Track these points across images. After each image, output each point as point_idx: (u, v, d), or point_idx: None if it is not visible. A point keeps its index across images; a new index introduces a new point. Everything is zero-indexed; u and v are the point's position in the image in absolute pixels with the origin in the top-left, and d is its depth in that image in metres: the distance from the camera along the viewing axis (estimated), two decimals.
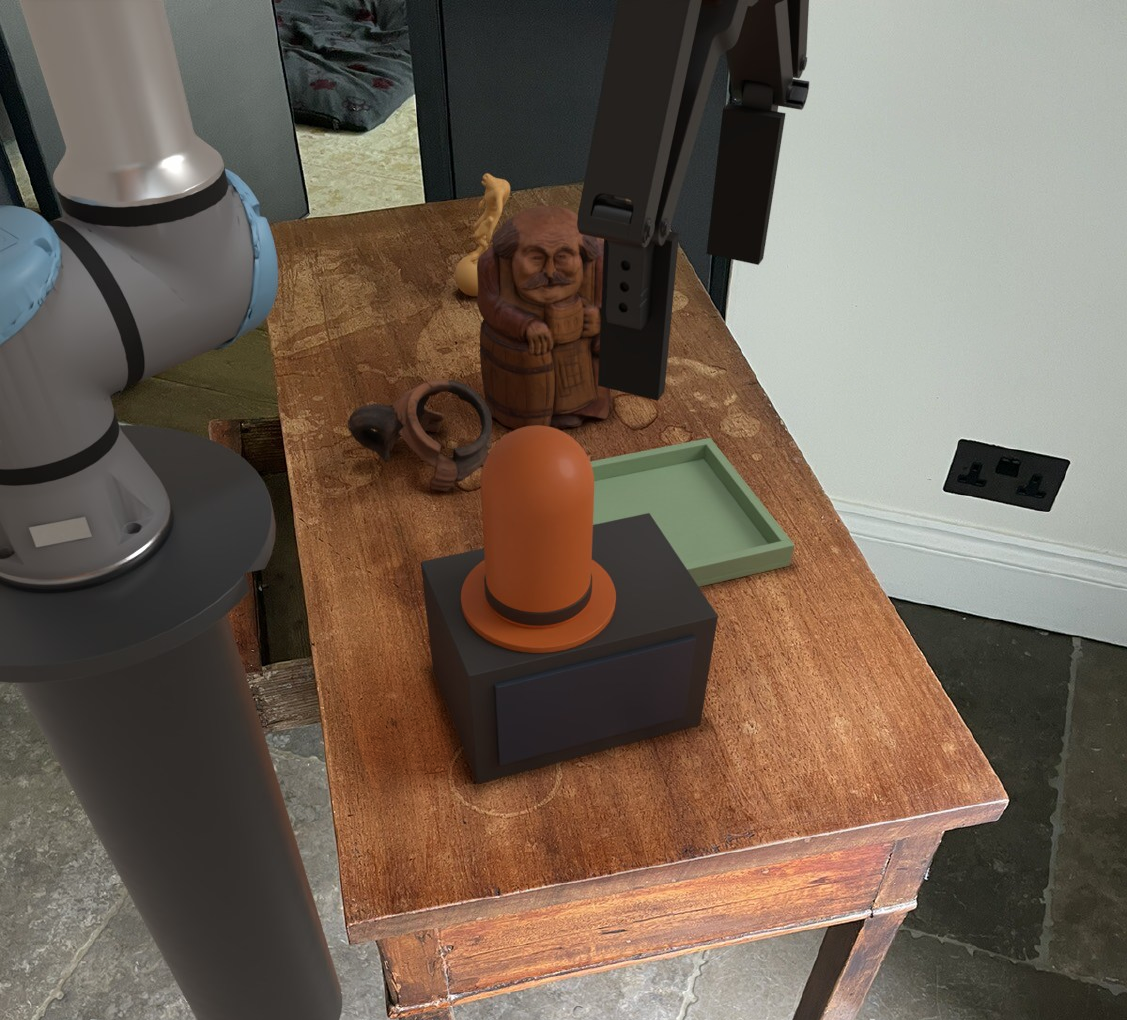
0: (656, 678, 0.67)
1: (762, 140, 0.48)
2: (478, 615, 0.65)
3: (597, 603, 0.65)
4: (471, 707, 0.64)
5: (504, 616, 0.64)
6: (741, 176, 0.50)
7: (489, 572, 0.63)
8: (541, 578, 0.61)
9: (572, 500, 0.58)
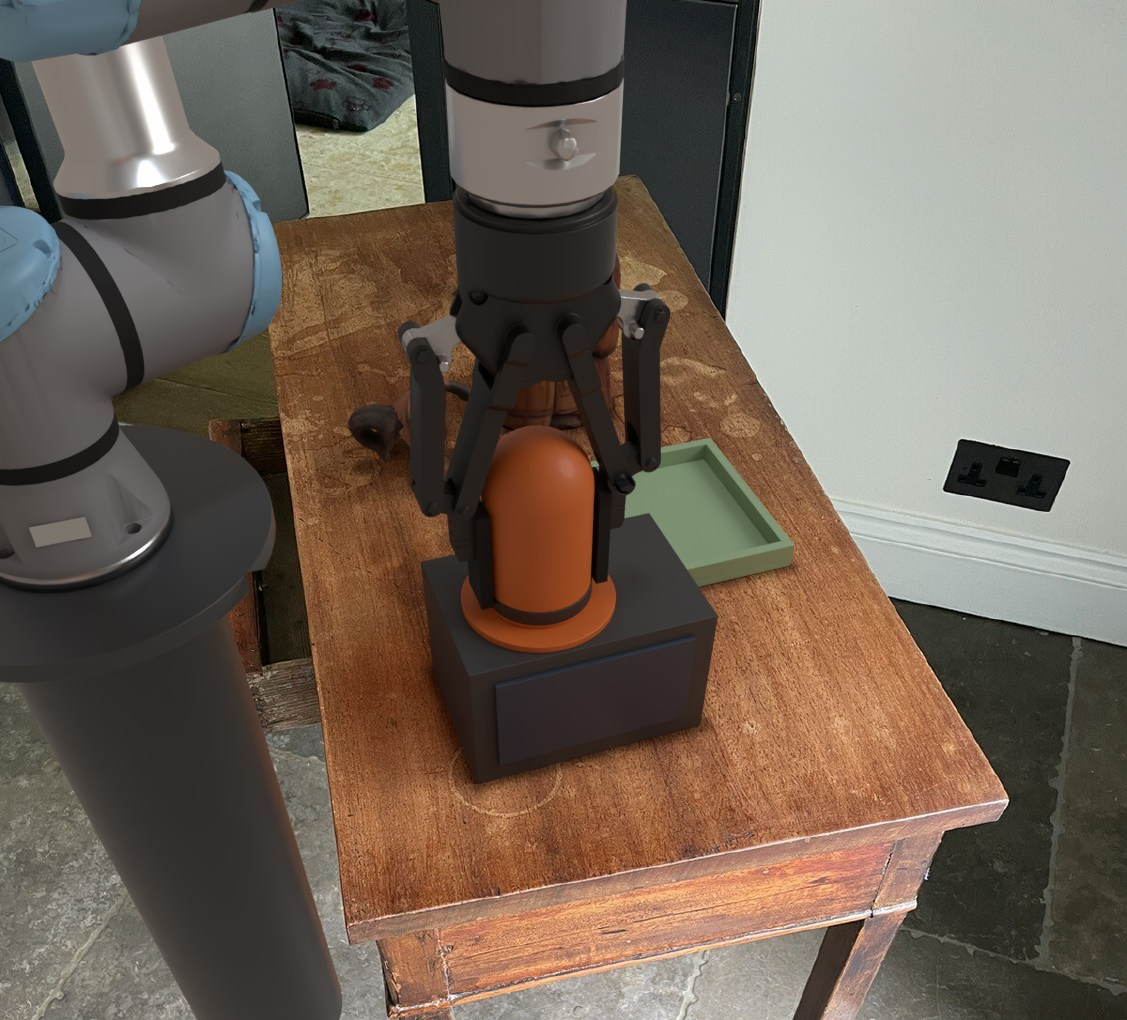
0: (656, 678, 0.67)
1: (595, 503, 0.61)
2: (478, 615, 0.65)
3: (597, 603, 0.65)
4: (471, 707, 0.64)
5: (504, 616, 0.64)
6: None
7: None
8: (541, 578, 0.61)
9: (572, 500, 0.58)
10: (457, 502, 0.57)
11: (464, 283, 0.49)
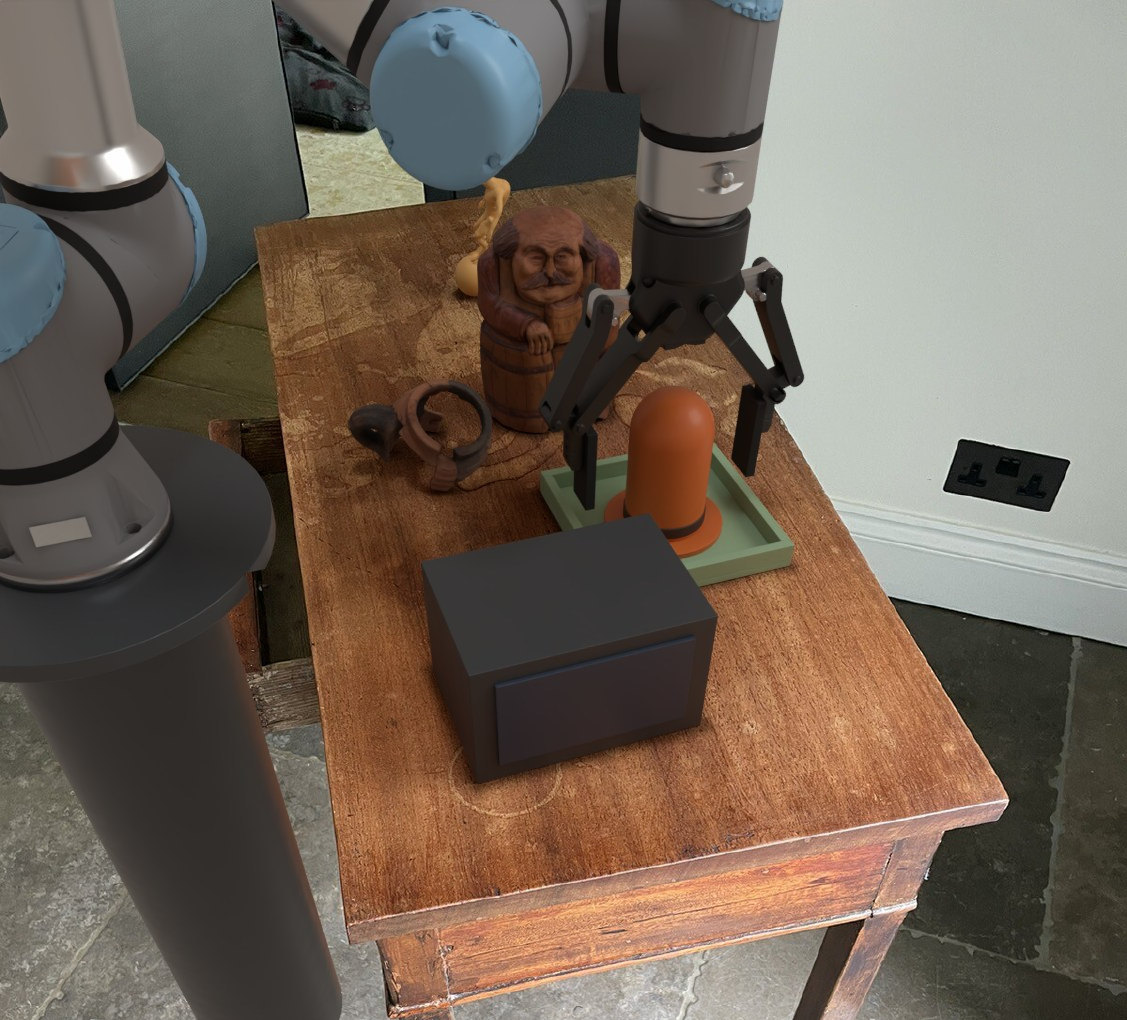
0: (656, 678, 0.67)
1: (752, 411, 0.81)
2: None
3: (709, 524, 0.86)
4: (471, 707, 0.64)
5: None
6: (744, 425, 0.83)
7: (631, 498, 0.83)
8: (673, 501, 0.81)
9: (701, 440, 0.78)
10: (578, 419, 0.76)
11: (639, 272, 0.70)
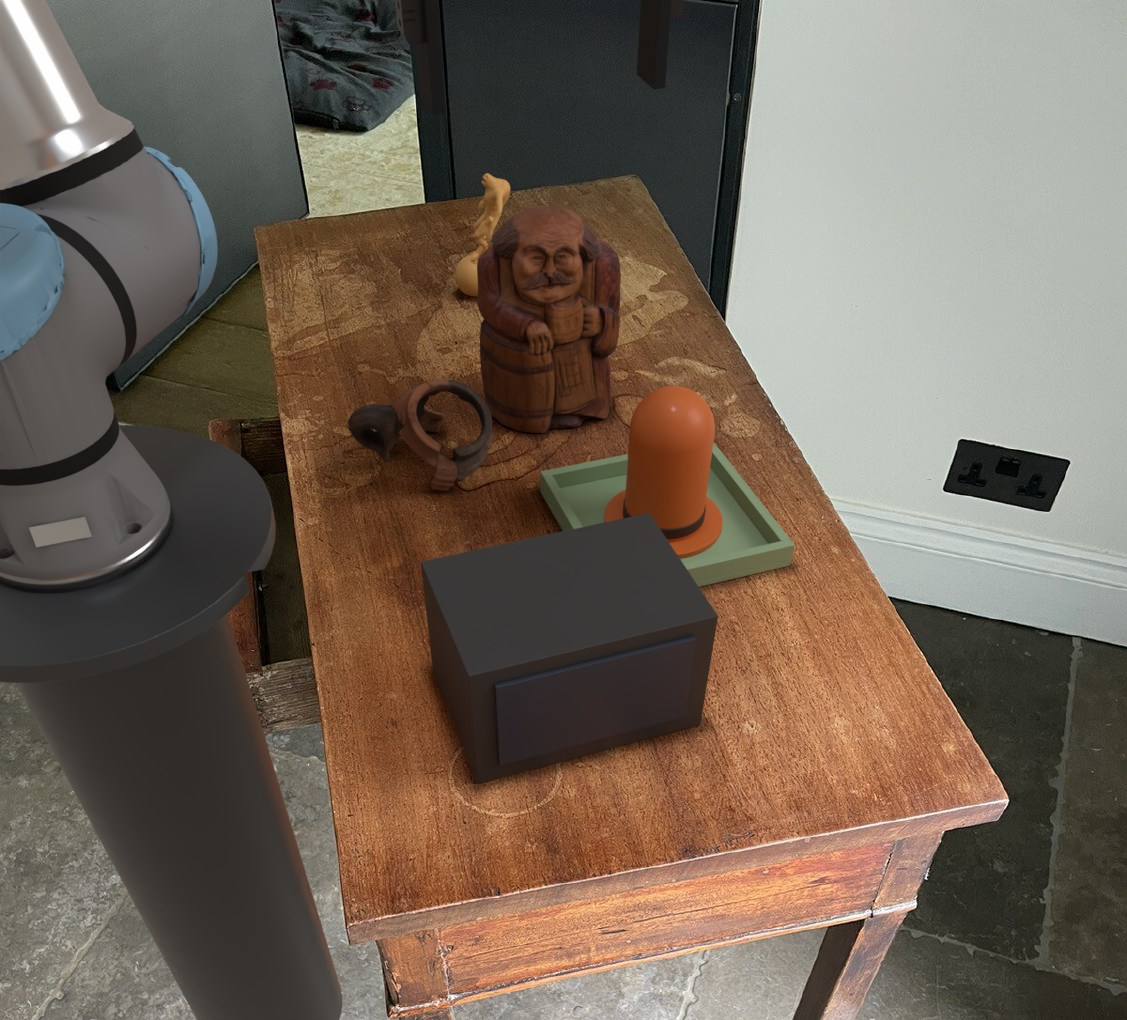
0: (656, 678, 0.67)
1: None
2: None
3: (709, 524, 0.86)
4: (471, 707, 0.64)
5: None
6: (649, 6, 0.62)
7: (631, 498, 0.83)
8: (673, 501, 0.81)
9: (701, 440, 0.78)
10: None
11: None
